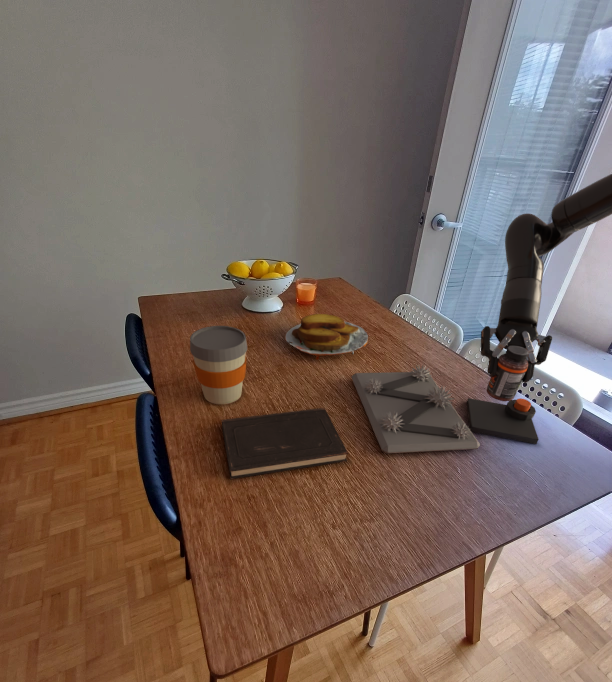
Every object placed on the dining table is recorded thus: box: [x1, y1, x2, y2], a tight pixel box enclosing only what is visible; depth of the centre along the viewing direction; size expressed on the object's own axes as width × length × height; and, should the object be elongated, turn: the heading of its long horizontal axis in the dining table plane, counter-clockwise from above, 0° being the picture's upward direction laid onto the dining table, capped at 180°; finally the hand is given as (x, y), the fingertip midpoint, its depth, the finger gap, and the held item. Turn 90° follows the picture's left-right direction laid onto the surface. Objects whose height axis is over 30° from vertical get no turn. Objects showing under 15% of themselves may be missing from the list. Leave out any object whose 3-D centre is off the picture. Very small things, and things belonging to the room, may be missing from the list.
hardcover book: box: [220, 407, 349, 480], centre depth 82 cm, size 16×23×2 cm
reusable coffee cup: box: [189, 325, 248, 405], centre depth 92 cm, size 12×13×15 cm
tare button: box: [514, 398, 532, 412], centre depth 93 cm, size 3×3×2 cm
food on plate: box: [284, 313, 370, 361], centre depth 120 cm, size 25×25×7 cm
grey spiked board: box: [350, 364, 481, 454], centre depth 92 cm, size 30×22×7 cm
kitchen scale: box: [466, 397, 539, 445], centre depth 92 cm, size 14×13×3 cm
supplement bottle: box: [486, 346, 528, 402], centre depth 85 cm, size 6×6×11 cm
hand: (509, 378), depth 84 cm, fingers closed on supplement bottle, 6 cm apart
